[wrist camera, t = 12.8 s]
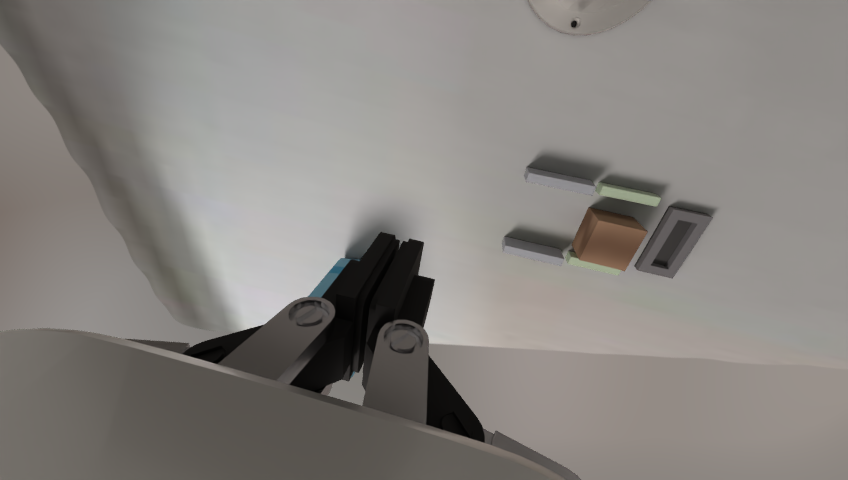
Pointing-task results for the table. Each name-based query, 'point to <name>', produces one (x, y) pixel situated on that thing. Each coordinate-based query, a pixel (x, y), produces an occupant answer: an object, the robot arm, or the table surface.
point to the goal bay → (617, 193)
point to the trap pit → (672, 241)
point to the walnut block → (608, 239)
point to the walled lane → (554, 181)
